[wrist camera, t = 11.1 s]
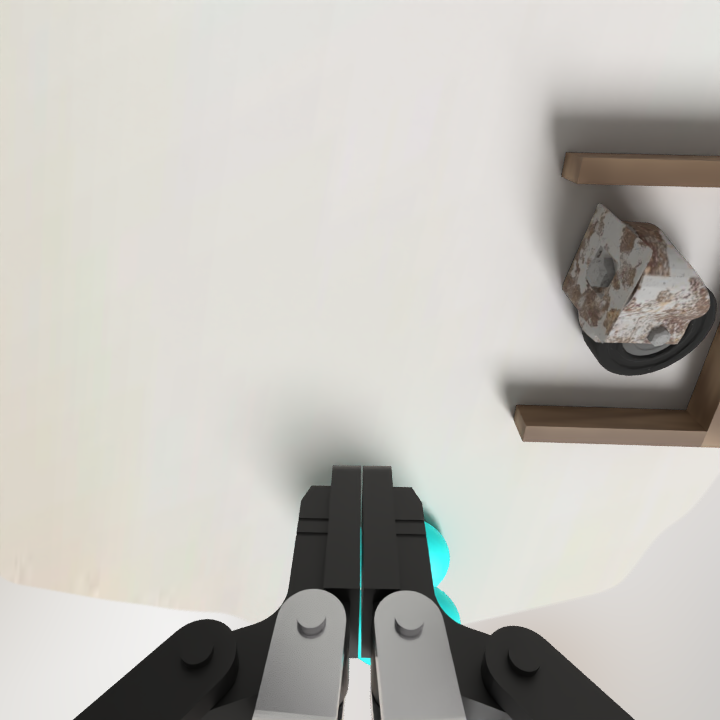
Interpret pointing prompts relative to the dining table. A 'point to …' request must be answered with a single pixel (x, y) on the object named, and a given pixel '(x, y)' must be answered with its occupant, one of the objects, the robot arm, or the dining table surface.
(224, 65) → the dining table surface
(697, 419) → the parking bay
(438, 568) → the donuts
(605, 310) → the caster wheel
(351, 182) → the dining table surface
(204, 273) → the dining table surface
